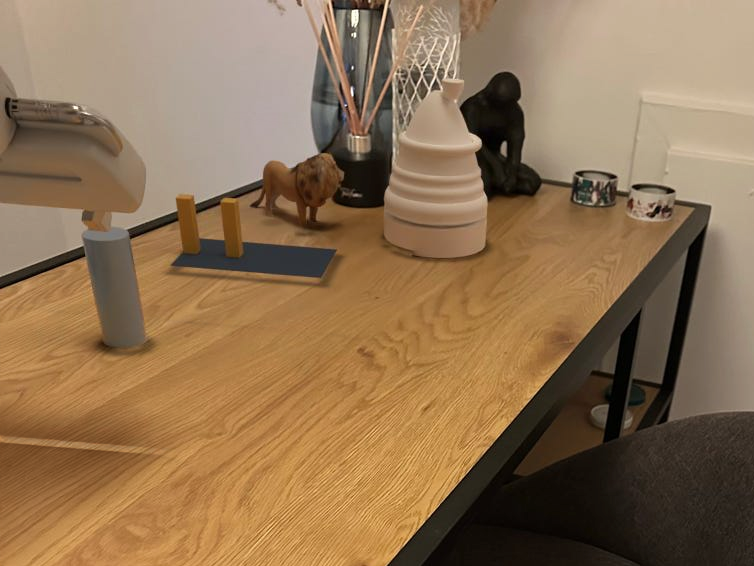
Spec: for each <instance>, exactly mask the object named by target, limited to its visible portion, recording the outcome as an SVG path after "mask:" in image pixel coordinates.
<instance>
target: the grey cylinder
mask: <svg viewBox="0 0 754 566" xmlns="http://www.w3.org/2000/svg"><path fill="white" fill-rule="evenodd" d="M81 241H82V245H83V251H84V255H85V259H86V265H87V270H88V274H89V279H90V284H91V288H92V294H93V298H94V304H95V309H96V313H97V318H98V323H99V328H100V334H101V339H102V343H103V344H104V345H106V346H108V347H111V348H116V349H127V348H128V349H130V348H135V347H138V346H141V345H143V344H145V343H146V342H147V341H148V335H147V328H146V324H145V317H144V311H143V306H142V300H141V294H140V289H139V284H138V275H137V271H136V265H135V259H134V253H133V248H132V243H131V237H130V233H129V231H128V230H127V229H125V228H123V227H122V228H121V227H117V226H111V227H110V231H109V232H102V231H93V230H89V229H88V228H87V229H85V230H84V231H82V232H81Z"/></svg>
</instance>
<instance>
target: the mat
mask: <svg viewBox="0 0 754 566" xmlns="http://www.w3.org/2000/svg"><path fill="white" fill-rule="evenodd" d="M199 240H200V248H201V250H200V251H199V252H198V254H187V253H183V251H182V252H181V253H180V254H179V255H178V256H177V257H176V258H175V259H174V261H173V262H171V264H170V267H180V268H181V267H183V268H194V269H205V270H217V271H228V272H229V271H231V272H241V273H254V274H255V273H256V274H266V275H267V274H268V275H278V276H290V277H291V276H292V277H301V278H302V277H303V278H316V279H322V277H323V275H324V274H325V272H326V270H327V269H328V267H329V265H330V263H331V261H332V260H333V258H334V257H335V254H336V252H337V251H338V248H337V249H336V248H323V247H314V246H313V247H311V246H299V245H287V244H275V243H274V244H272V243H265V242H264V243H263V242H250V241H249V242H248V241H242V245H243V255H242V256H241V257H240V258H236V257H227V256H226V249H225V240H224V239H214V238H201V237H199Z"/></svg>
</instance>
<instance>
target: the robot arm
mask: <svg viewBox="0 0 754 566" xmlns="http://www.w3.org/2000/svg"><path fill="white" fill-rule="evenodd" d="M146 181H147V168H146V164H145V162H144V159H143V158H142V157H141V156H140V154H139V153H138V151H137V150H136V149H135V147H134V146H133V145H132V143H131V142H130V140H128V139H127V137H126V135H124V134H123V132H122V131H120V129H119V128H118V127H117V126H116V125H115V123H113V121H112V120H110V119H109V118H108V117H107V116H106V115H105V114H103V113H102V112H101V111H99V110H98V109H96V108H94V107H92V106H89V105H85V104H82V103H78V102H71V101H59V100H46V99H35V98H21V97H18V95H17V91H16V89H15V86H14V83H13V82H12V80H11V78H10V77H9V75H8V73H7V72H6V71H5V69H4V68H3V67H2V65H0V204H7V205H17V206H19V205H20V206H34V207H44V208H56V209H57V208H58V209H69V210H80V211H82V212H81V220H80V221H81V222H82V223H83V225H84V226H86V227H87V230H88V229H89V230H93V231H102V232H109V231H110V227H112V219H113V214H112V213H119V214H134V213H136V212H137V211H138V210H139V208H140V207H141V206H142V204H143V201H144V196H145V190H146V183H147V182H146Z"/></svg>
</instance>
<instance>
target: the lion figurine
mask: <svg viewBox="0 0 754 566" xmlns="http://www.w3.org/2000/svg"><path fill="white" fill-rule="evenodd" d="M344 178H345V171H343V170H342V169H340V168H339V167H338V165H337V163H336V161H335V160H334V157H333V155H332V154H330V153H327V152H320V153H319V152H318V153H317V154H314V155H313V156H311V157H308V158H306V159H305V160H303V161H299V162H298V163H297V164H296V165H295V166H294V168H289V167H288V166H287V165H286V164H285V163H284V162H281V161H279V160H269V161H268V162H267V163H266V164H264V167H263V170H262V187H261V193H260V196H259V198H258V199H257V200H255V201H253V202H252V203H251V204H249V207H251V208H255V209H256V208H257V207H259V206H260V205H261V204H262V202H263V201H264V198H265V203H264V208H265V212H266V213H265V214H266V216H267V217H268V218H275V217H276V215H275V214H274V213H273V211H272V210H273V209H274V210H275V209H277V210H278V209H279V206H278V205H276V201H277V200H278V198H279V197H281V196H282V197H283V198H284V199H285V200H287V201H289V202H292V203H295V204H296V209H297V215H298V223H299V227H300V228H308V227H309V223H311V224H313V223H316V224H319V223H320V221H319V220H317V215H318V214H317V213H318V210H319V208H321V207H323V206H325V205H326V203H327V200H328V199H330V198H332V197H333V196H334V195H335V194H336V193H337V191H338V188H341V186H342V182H343V181H344ZM307 208H309V214H308V215H309V218H308V219H309V223H308V220H307V212H308V211H307Z"/></svg>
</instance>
